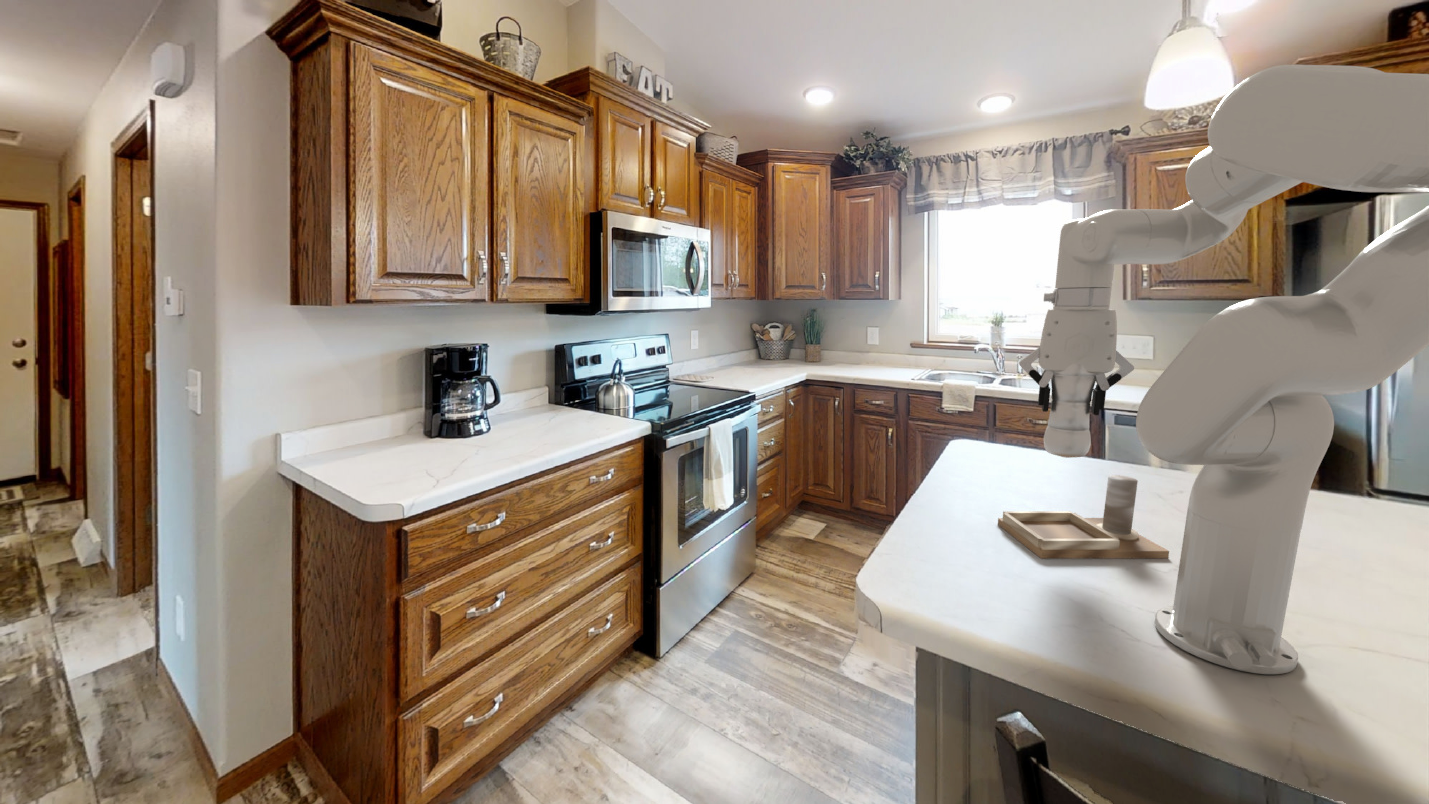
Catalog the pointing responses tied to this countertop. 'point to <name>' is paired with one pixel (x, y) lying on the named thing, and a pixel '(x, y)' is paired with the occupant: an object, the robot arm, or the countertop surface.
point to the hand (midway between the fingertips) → (1069, 411)
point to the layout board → (1085, 529)
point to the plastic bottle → (1070, 412)
